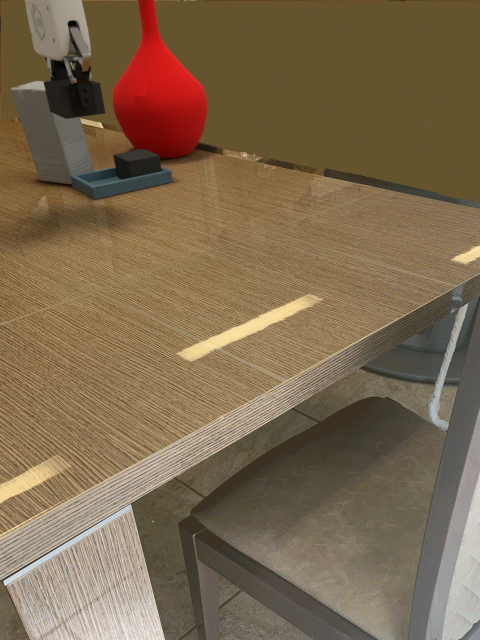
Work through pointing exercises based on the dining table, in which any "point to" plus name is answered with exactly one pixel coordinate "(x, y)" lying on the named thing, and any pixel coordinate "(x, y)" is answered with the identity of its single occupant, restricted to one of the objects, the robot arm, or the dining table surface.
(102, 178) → the tray
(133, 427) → the dining table surface
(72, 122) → the cosmetic box
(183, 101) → the vase
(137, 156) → the seated pad
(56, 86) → the loose pad
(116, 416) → the dining table surface
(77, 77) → the robot arm
